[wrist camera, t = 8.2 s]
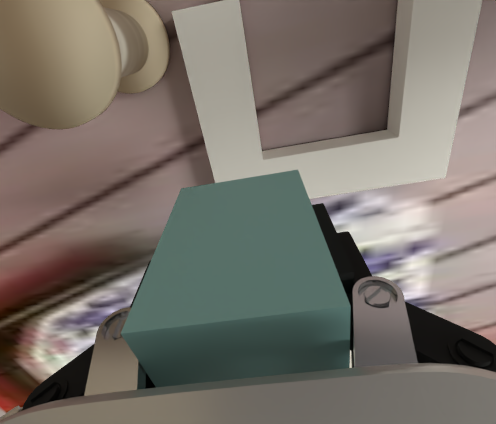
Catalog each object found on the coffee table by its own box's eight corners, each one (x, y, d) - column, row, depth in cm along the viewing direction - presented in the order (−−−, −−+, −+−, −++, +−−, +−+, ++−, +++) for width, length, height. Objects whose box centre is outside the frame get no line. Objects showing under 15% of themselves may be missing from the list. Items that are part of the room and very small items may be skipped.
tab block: (298, 169, 12) (351, 305, 6) (306, 259, 14) (348, 418, 8) (181, 188, 12) (120, 333, 6) (209, 273, 15) (185, 432, 9)
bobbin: (152, -23, 17) (66, -80, 9) (180, 83, 21) (137, 115, 12) (60, -2, 18) (-106, -38, 9) (101, 98, 21) (5, 140, 12)
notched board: (469, -48, 17) (494, -57, 15) (431, 167, 24) (445, 177, 23) (178, 13, 18) (171, 11, 17) (223, 200, 26) (222, 212, 24)
